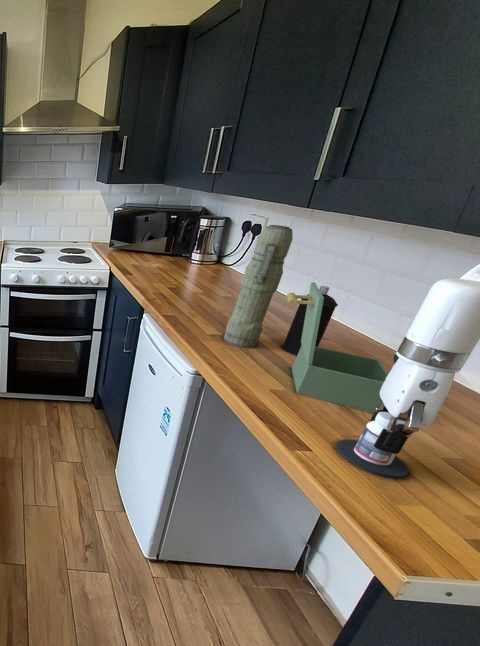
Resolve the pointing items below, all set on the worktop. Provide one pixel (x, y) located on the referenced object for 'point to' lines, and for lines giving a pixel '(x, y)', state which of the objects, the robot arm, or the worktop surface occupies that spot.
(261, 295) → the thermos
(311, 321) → the chest lid
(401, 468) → the coaster
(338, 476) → the worktop surface
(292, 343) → the aerosol can
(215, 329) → the worktop surface
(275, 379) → the worktop surface
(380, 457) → the pill bottle
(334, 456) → the worktop surface
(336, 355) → the chest
